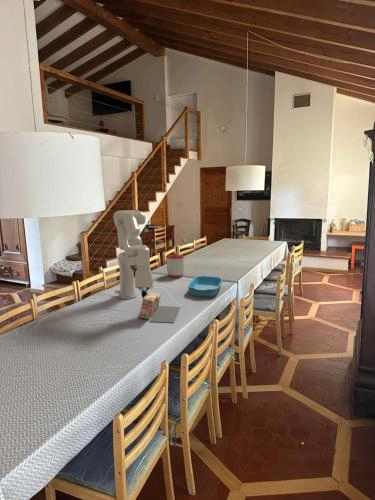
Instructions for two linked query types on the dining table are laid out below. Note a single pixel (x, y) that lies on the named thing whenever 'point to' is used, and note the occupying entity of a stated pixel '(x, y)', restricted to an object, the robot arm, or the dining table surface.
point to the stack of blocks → (149, 305)
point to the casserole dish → (205, 286)
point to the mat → (165, 314)
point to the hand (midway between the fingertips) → (144, 297)
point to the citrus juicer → (175, 265)
